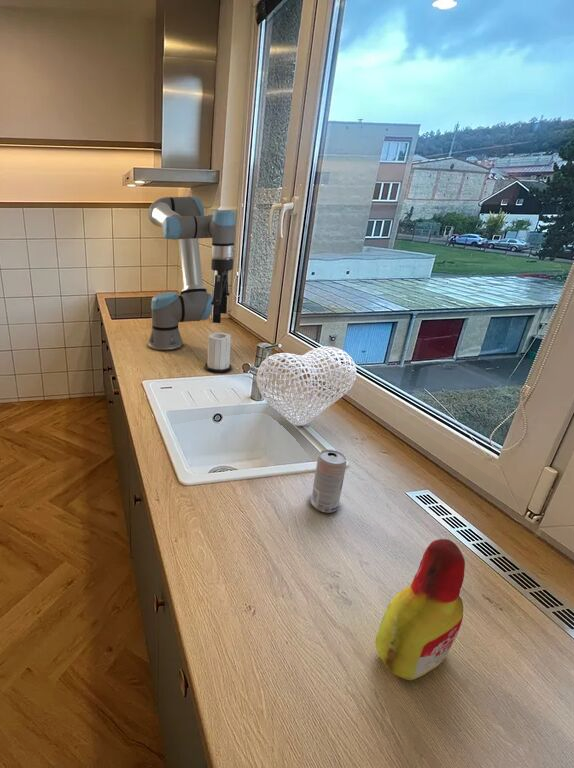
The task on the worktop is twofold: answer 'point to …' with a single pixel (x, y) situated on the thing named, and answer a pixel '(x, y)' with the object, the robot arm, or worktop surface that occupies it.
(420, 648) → the bottle
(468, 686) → the worktop surface
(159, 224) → the robot arm
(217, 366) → the paper towel roll
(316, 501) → the energy drink
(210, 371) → the towel stand
